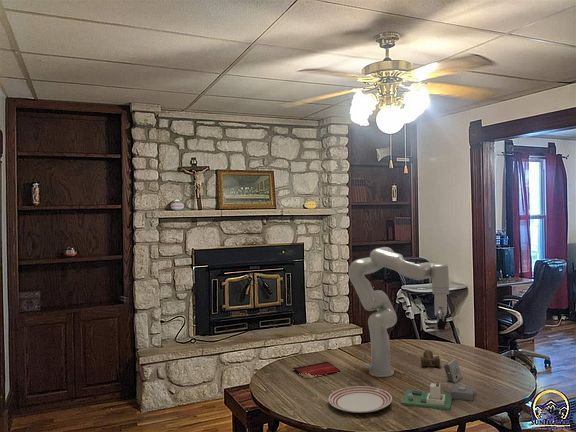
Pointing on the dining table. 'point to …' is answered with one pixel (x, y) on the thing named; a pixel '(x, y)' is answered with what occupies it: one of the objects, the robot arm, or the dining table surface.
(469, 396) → the grey knob block
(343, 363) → the dining table surface
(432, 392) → the plug
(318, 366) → the binder
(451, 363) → the electrical switch
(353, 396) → the dinner plate
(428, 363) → the brown bone-shaped piece
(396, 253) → the robot arm
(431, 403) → the board
